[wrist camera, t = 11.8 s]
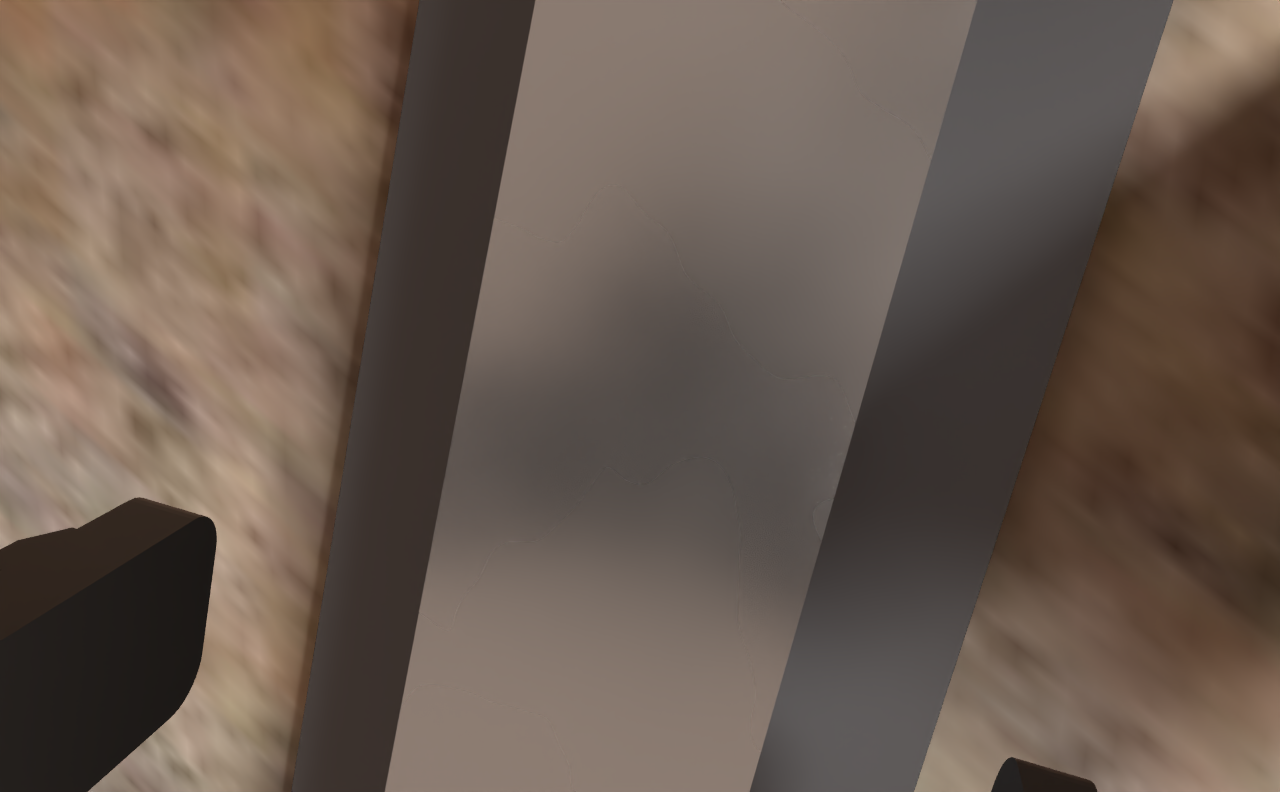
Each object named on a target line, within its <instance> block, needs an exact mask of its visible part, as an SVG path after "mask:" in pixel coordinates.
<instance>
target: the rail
mask: <svg viewBox="0 0 1280 792" xmlns="http://www.w3.org/2000/svg"><path fill="white" fill-rule="evenodd" d="M976 3H977V0H535V6H534V11H533V16H532V21H531V27H530V32H529V37H528V42H527V48H526V53H525V58H524V63H523V69H522V74H521V79H520V84H519V90H518V95H517V100H516V105H515V111H514V116H513V121H512V126H511V132H510V137H509V142H508V147H507V153H506V158H505V163H504V168H503V174H502V179H501V184H500V189H499V195H498V200H497V205H496V210H495V216H494V221H493V226H492V231H491V237H490V242H489V247H488V252H487V258H486V263H485V268H484V273H483V279H482V284H481V289H480V294H479V300H478V305H477V310H476V315H475V321H474V326H473V331H472V336H471V342H470V347H469V352H468V358H467V363H466V368H465V373H464V379H463V384H462V389H461V394H460V400H459V405H458V410H457V415H456V421H455V426H454V431H453V436H452V442H451V447H450V452H449V457H448V463H447V468H446V473H445V478H444V484H443V489H442V494H441V499H440V505H439V510H438V515H437V520H436V526H435V531H434V536H433V541H432V547H431V552H430V557H429V562H428V568H427V573H426V578H425V583H424V589H423V594H422V599H421V604H420V610H419V615H418V620H417V625H416V631H415V636H414V641H413V646H412V652H411V657H410V662H409V667H408V673H407V678H406V683H405V688H404V694H403V699H402V704H401V709H400V715H399V720H398V725H397V730H396V736H395V741H394V746H393V752H392V757H391V762H390V767H389V773H388V778H387V783H386V788H385V792H750V788H751V785H752V781H753V778H754V774H755V771H756V768H757V764H758V761H759V757H760V754H761V750H762V747H763V743H764V740H765V736H766V733H767V729H768V726H769V722H770V719H771V715H772V712H773V708H774V705H775V701H776V698H777V695H778V691H779V688H780V684H781V681H782V677H783V674H784V670H785V667H786V663H787V660H788V656H789V653H790V649H791V646H792V642H793V639H794V635H795V632H796V628H797V625H798V622H799V618H800V615H801V611H802V608H803V604H804V601H805V597H806V594H807V590H808V587H809V583H810V580H811V576H812V573H813V569H814V566H815V562H816V559H817V556H818V552H819V549H820V545H821V542H822V538H823V535H824V531H825V528H826V524H827V521H828V517H829V514H830V510H831V507H832V503H833V500H834V496H835V493H836V489H837V486H838V483H839V479H840V476H841V472H842V469H843V465H844V462H845V458H846V455H847V451H848V448H849V444H850V441H851V437H852V434H853V430H854V427H855V423H856V420H857V417H858V413H859V410H860V406H861V403H862V399H863V396H864V392H865V389H866V385H867V382H868V378H869V375H870V371H871V368H872V364H873V361H874V357H875V354H876V350H877V347H878V344H879V340H880V337H881V333H882V330H883V326H884V323H885V319H886V316H887V312H888V309H889V305H890V302H891V298H892V295H893V291H894V288H895V284H896V281H897V277H898V274H899V271H900V267H901V264H902V260H903V257H904V253H905V250H906V246H907V243H908V239H909V236H910V232H911V229H912V225H913V222H914V218H915V215H916V211H917V208H918V205H919V201H920V198H921V194H922V191H923V187H924V184H925V180H926V177H927V173H928V170H929V166H930V163H931V159H932V156H933V152H934V149H935V145H936V142H937V138H938V135H939V132H940V128H941V125H942V121H943V118H944V114H945V111H946V107H947V104H948V100H949V97H950V93H951V90H952V86H953V83H954V79H955V76H956V72H957V69H958V66H959V62H960V59H961V55H962V52H963V48H964V45H965V41H966V38H967V34H968V31H969V27H970V24H971V20H972V17H973V13H974V10H975V6H976Z"/></svg>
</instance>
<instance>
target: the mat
mask: <svg viewBox="0 0 1280 792" xmlns="http://www.w3.org/2000/svg"><path fill="white" fill-rule="evenodd" d="M1172 3H1173V0H977V3H976V6H975V10H974V13H973V17H972V20H971V24H970V27H969V31H968V34H967V38H966V41H965V45H964V48H963V52H962V55H961V59H960V62H959V66H958V69H957V72H956V76H955V79H954V83H953V86H952V90H951V93H950V97H949V100H948V104H947V107H946V111H945V114H944V118H943V121H942V125H941V128H940V132H939V135H938V138H937V142H936V145H935V149H934V152H933V156H932V159H931V163H930V166H929V170H928V173H927V177H926V180H925V184H924V187H923V191H922V194H921V198H920V201H919V205H918V208H917V211H916V215H915V218H914V222H913V225H912V229H911V232H910V236H909V239H908V243H907V246H906V250H905V253H904V257H903V260H902V264H901V267H900V271H899V274H898V277H897V281H896V284H895V288H894V291H893V295H892V298H891V302H890V305H889V309H888V312H887V316H886V319H885V323H884V326H883V330H882V333H881V337H880V340H879V344H878V347H877V350H876V354H875V357H874V361H873V364H872V368H871V371H870V375H869V378H868V382H867V385H866V389H865V392H864V396H863V399H862V403H861V406H860V410H859V413H858V417H857V420H856V423H855V427H854V430H853V434H852V437H851V441H850V444H849V448H848V451H847V455H846V458H845V462H844V465H843V469H842V472H841V476H840V479H839V483H838V486H837V489H836V493H835V496H834V500H833V503H832V507H831V510H830V514H829V517H828V521H827V524H826V528H825V531H824V535H823V538H822V542H821V545H820V549H819V552H818V556H817V559H816V562H815V566H814V569H813V573H812V576H811V580H810V583H809V587H808V590H807V594H806V597H805V601H804V604H803V608H802V611H801V615H800V618H799V622H798V625H797V628H796V632H795V635H794V639H793V642H792V646H791V649H790V653H789V656H788V660H787V663H786V667H785V670H784V674H783V677H782V681H781V684H780V688H779V691H778V695H777V698H776V701H775V705H774V708H773V712H772V715H771V719H770V722H769V726H768V729H767V733H766V736H765V740H764V743H763V747H762V750H761V754H760V757H759V761H758V764H757V768H756V771H755V774H754V778H753V781H752V785H751V788H750V792H914V790H915V787H916V784H917V781H918V778H919V775H920V772H921V769H922V765H923V762H924V759H925V756H926V753H927V750H928V747H929V744H930V741H931V738H932V735H933V732H934V729H935V726H936V723H937V720H938V717H939V714H940V711H941V708H942V705H943V701H944V698H945V695H946V692H947V689H948V686H949V683H950V680H951V677H952V674H953V671H954V668H955V665H956V662H957V659H958V656H959V653H960V650H961V647H962V644H963V640H964V637H965V634H966V631H967V628H968V625H969V622H970V619H971V616H972V613H973V610H974V607H975V604H976V601H977V598H978V595H979V592H980V589H981V586H982V583H983V579H984V576H985V573H986V570H987V567H988V564H989V561H990V558H991V555H992V552H993V549H994V546H995V543H996V540H997V537H998V534H999V531H1000V528H1001V525H1002V522H1003V518H1004V515H1005V512H1006V509H1007V506H1008V503H1009V500H1010V497H1011V494H1012V491H1013V488H1014V485H1015V482H1016V479H1017V476H1018V473H1019V470H1020V467H1021V464H1022V461H1023V458H1024V454H1025V451H1026V448H1027V445H1028V442H1029V439H1030V436H1031V433H1032V430H1033V427H1034V424H1035V421H1036V418H1037V415H1038V412H1039V409H1040V406H1041V403H1042V400H1043V397H1044V393H1045V390H1046V387H1047V384H1048V381H1049V378H1050V375H1051V372H1052V369H1053V366H1054V363H1055V360H1056V357H1057V354H1058V351H1059V348H1060V345H1061V342H1062V339H1063V336H1064V332H1065V329H1066V326H1067V323H1068V320H1069V317H1070V314H1071V311H1072V308H1073V305H1074V302H1075V299H1076V296H1077V293H1078V290H1079V287H1080V284H1081V281H1082V278H1083V275H1084V271H1085V268H1086V265H1087V262H1088V259H1089V256H1090V253H1091V250H1092V247H1093V244H1094V241H1095V238H1096V235H1097V232H1098V229H1099V226H1100V223H1101V220H1102V217H1103V214H1104V211H1105V207H1106V204H1107V201H1108V198H1109V195H1110V192H1111V189H1112V186H1113V183H1114V180H1115V177H1116V174H1117V171H1118V168H1119V165H1120V162H1121V159H1122V156H1123V153H1124V150H1125V146H1126V143H1127V140H1128V137H1129V134H1130V131H1131V128H1132V125H1133V122H1134V119H1135V116H1136V113H1137V110H1138V107H1139V104H1140V101H1141V98H1142V95H1143V92H1144V89H1145V85H1146V82H1147V79H1148V76H1149V73H1150V70H1151V67H1152V64H1153V61H1154V58H1155V55H1156V52H1157V49H1158V46H1159V43H1160V40H1161V37H1162V34H1163V31H1164V28H1165V24H1166V21H1167V18H1168V15H1169V12H1170V9H1171V6H1172ZM534 6H535V0H420V1H419V7H418V13H417V19H416V26H415V32H414V38H413V44H412V50H411V56H410V63H409V69H408V75H407V81H406V87H405V93H404V100H403V106H402V112H401V118H400V124H399V130H398V137H397V143H396V149H395V155H394V161H393V167H392V174H391V180H390V186H389V192H388V198H387V204H386V211H385V217H384V223H383V229H382V235H381V242H380V248H379V254H378V260H377V266H376V272H375V279H374V285H373V291H372V297H371V303H370V309H369V316H368V322H367V328H366V334H365V340H364V346H363V353H362V359H361V365H360V371H359V377H358V383H357V390H356V396H355V402H354V408H353V414H352V420H351V427H350V433H349V439H348V445H347V451H346V458H345V464H344V470H343V476H342V482H341V488H340V495H339V501H338V507H337V513H336V519H335V525H334V532H333V538H332V544H331V550H330V556H329V562H328V569H327V575H326V581H325V587H324V593H323V599H322V606H321V612H320V618H319V624H318V630H317V636H316V643H315V649H314V655H313V661H312V667H311V673H310V680H309V686H308V692H307V698H306V704H305V711H304V717H303V723H302V729H301V735H300V741H299V748H298V754H297V760H296V766H295V772H294V778H293V785H292V791H291V792H385V788H386V783H387V778H388V773H389V767H390V762H391V757H392V752H393V746H394V741H395V736H396V730H397V725H398V720H399V715H400V709H401V704H402V699H403V694H404V688H405V683H406V678H407V673H408V667H409V662H410V657H411V652H412V646H413V641H414V636H415V631H416V625H417V620H418V615H419V610H420V604H421V599H422V594H423V589H424V583H425V578H426V573H427V568H428V562H429V557H430V552H431V547H432V541H433V536H434V531H435V526H436V520H437V515H438V510H439V505H440V499H441V494H442V489H443V484H444V478H445V473H446V468H447V463H448V457H449V452H450V447H451V442H452V436H453V431H454V426H455V421H456V415H457V410H458V405H459V400H460V394H461V389H462V384H463V379H464V373H465V368H466V363H467V358H468V352H469V347H470V342H471V336H472V331H473V326H474V321H475V315H476V310H477V305H478V300H479V294H480V289H481V284H482V279H483V273H484V268H485V263H486V258H487V252H488V247H489V242H490V237H491V231H492V226H493V221H494V216H495V210H496V205H497V200H498V195H499V189H500V184H501V179H502V174H503V168H504V163H505V158H506V153H507V147H508V142H509V137H510V132H511V126H512V121H513V116H514V111H515V105H516V100H517V95H518V90H519V84H520V79H521V74H522V69H523V63H524V58H525V53H526V48H527V42H528V37H529V32H530V27H531V21H532V16H533V11H534Z"/></svg>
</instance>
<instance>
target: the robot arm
mask: <svg viewBox="0 0 1280 792" xmlns="http://www.w3.org/2000/svg"><path fill="white" fill-rule="evenodd" d="M216 542H217V536H216V528H215V525H214V523H213V521H212V520H211V519H210V518H208V517H206V516H202V515H199V514H195V513H192V512H189V511H185V510H182V509H179V508H175V507H172V506H168V505H165V504H162V503H158V502H155V501H152V500H148V499H145V498H134V499H132V500H129V501H127V502H126V503H124V504H122V505H120V506H118V507H116V508H115V509H113V510H111V511H109V512H107V513H105V514H104V515H102V516H100V517H98V518H96V519H94V520H93V521H91V522H89V523H87V524H85V525H83V526H81V527H80V528H78V529H75V528H68V529H64V530H60V531H56V532H52V533H47V534H43V535H39V536H35V537H30V538H26V539H22V540H18V541H16V542H14V543H12V544H10V545H8V546H6V547H4V548H2V549H0V792H88V791H89V790H90V789H91V788H92V787H93V786H94V785H96V784H97V783H98V782H99V781H100V780H101V779H102V778H103V777H104V776H106V775H107V774H108V773H109V772H110V771H111V770H112V769H113V768H115V767H116V766H117V765H118V764H119V763H120V762H121V761H122V760H124V759H125V758H126V757H127V756H128V755H129V754H130V753H131V752H133V751H134V750H135V749H136V748H137V747H138V746H139V745H140V744H142V743H143V742H144V741H145V740H146V739H147V738H148V737H149V736H151V735H152V734H153V733H154V732H155V731H156V730H157V729H158V728H160V727H161V726H162V725H163V724H164V723H165V722H166V721H167V720H169V719H170V718H171V717H172V716H173V715H174V714H175V712H176V711H177V710H178V709H179V708H180V706H181V705H182V703H183V702H184V700H185V698H186V697H187V695H188V693H189V691H190V689H191V687H192V685H193V683H194V680H195V678H196V675H197V672H198V669H199V666H200V662H201V657H202V651H203V643H204V636H205V628H206V620H207V613H208V605H209V597H210V590H211V582H212V575H213V567H214V559H215V552H216ZM991 792H1097V789H1096V787H1095V785H1094V783H1093V782H1092V781H1090V780H1087V779H1084V778H1080V777H1077V776H1074V775H1070V774H1067V773H1064V772H1060V771H1057V770H1053V769H1050V768H1047V767H1043V766H1040V765H1037V764H1033V763H1030V762H1026V761H1023V760H1020V759H1016V758H1013V757H1011V758H1008V759H1007V760H1006V761H1005V762H1004V764H1003V765H1002V767H1001V769H1000V771H999V773H998V775H997V777H996V780H995V782H994V785H993V788H992V791H991Z"/></svg>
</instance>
